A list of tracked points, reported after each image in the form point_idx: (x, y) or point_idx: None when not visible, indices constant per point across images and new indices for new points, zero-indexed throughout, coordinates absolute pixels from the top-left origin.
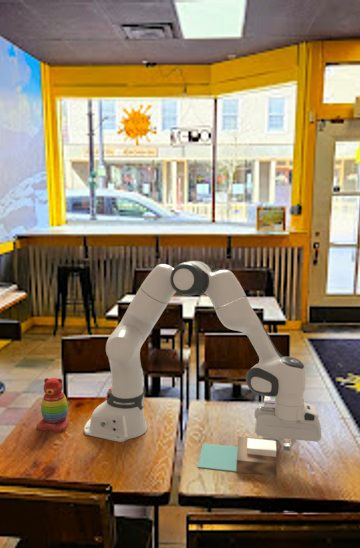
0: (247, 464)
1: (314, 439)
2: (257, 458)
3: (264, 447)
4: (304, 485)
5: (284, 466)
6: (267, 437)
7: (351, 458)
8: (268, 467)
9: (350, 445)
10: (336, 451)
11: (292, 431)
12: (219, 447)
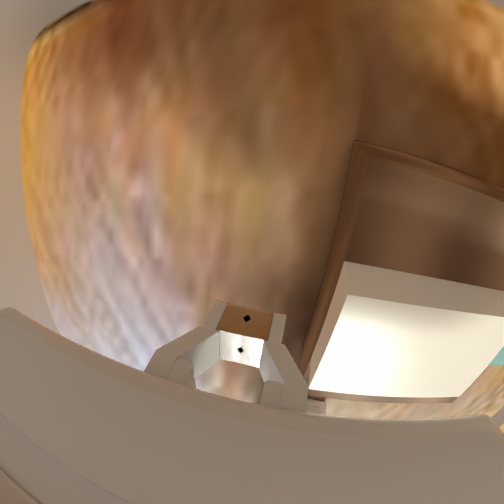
0: None
1: (11, 324)
2: (480, 243)
3: (422, 334)
4: (187, 62)
5: (278, 236)
6: (308, 404)
7: (45, 278)
8: (418, 165)
9: (63, 330)
10: (82, 314)
11: (132, 459)
12: (502, 352)
